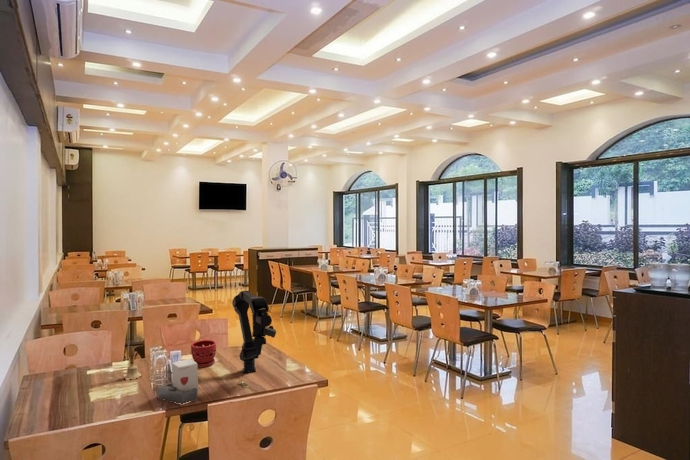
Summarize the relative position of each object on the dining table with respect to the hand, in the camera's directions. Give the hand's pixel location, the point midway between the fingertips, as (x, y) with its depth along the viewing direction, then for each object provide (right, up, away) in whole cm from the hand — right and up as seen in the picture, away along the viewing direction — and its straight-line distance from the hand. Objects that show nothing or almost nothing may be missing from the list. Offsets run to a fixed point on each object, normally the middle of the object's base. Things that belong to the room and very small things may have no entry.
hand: (259, 354), depth 233 cm
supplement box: (-30, -14, -19) cm, 38 cm away
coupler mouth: (-32, -14, -23) cm, 42 cm away
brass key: (-6, -13, -8) cm, 16 cm away
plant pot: (-35, -12, +25) cm, 44 cm away
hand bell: (-66, -14, +7) cm, 67 cm away
